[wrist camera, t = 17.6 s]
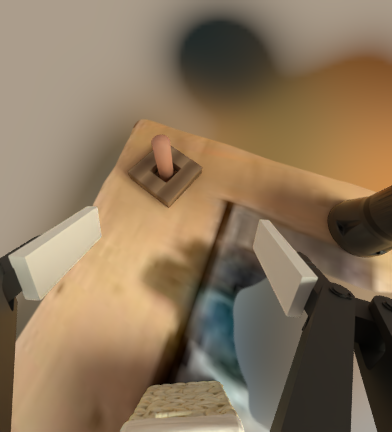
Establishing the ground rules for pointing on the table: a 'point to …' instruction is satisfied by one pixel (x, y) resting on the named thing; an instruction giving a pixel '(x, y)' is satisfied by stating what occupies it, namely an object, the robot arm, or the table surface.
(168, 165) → the pin
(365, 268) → the table surface
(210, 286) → the table surface
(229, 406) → the storage basket
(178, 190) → the socket block
